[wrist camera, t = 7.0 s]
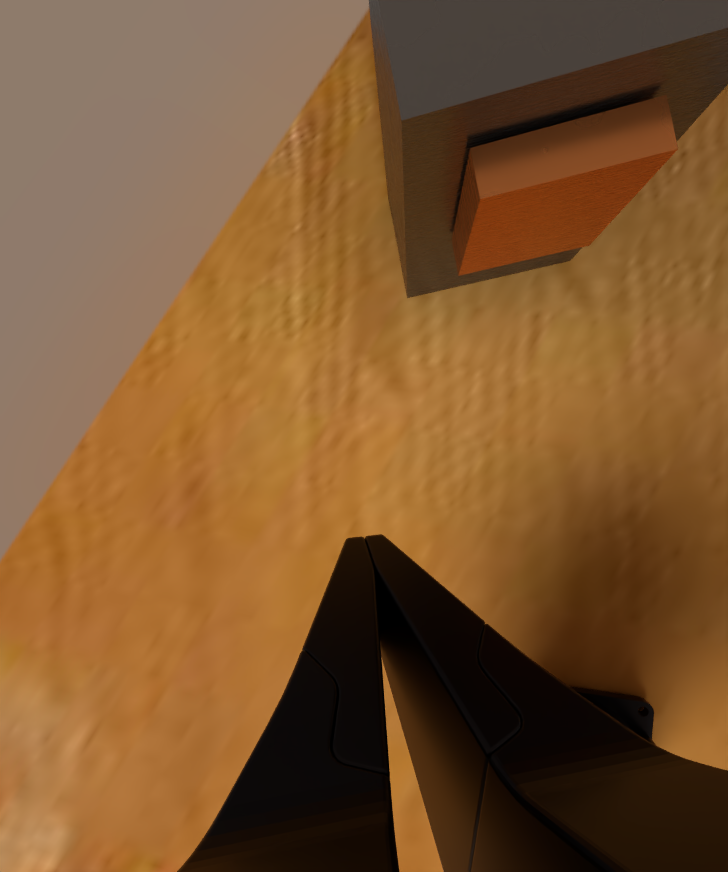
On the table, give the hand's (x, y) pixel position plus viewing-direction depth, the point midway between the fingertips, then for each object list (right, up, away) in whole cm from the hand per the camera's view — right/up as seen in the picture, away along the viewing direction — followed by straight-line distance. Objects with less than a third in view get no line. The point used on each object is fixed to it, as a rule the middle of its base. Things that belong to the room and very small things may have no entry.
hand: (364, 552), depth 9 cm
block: (+6, +14, +13) cm, 20 cm away
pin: (+6, +14, +7) cm, 16 cm away
